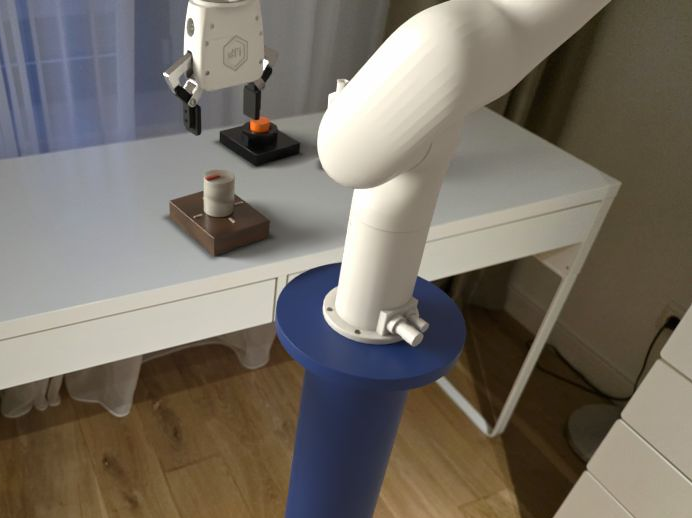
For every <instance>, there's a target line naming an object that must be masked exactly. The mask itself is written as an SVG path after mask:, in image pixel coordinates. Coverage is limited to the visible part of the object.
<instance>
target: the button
mask: <svg viewBox="0 0 692 518" xmlns="http://www.w3.org/2000/svg"><path fill="white" fill-rule="evenodd" d="M250 121H251V122H250ZM250 121H249V122H250V130H252V131H255V132H267V131H269V130H270V122H271V120H270V118H268V117H266V116H265V117H264V116H260V119H259V120H256V121H255V120H253V119H251V118H250Z"/></svg>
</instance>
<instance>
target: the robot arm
mask: <svg viewBox="0 0 692 518" xmlns="http://www.w3.org/2000/svg"><path fill="white" fill-rule="evenodd" d="M611 1H612V0H446V1H444V2H442V3H438V4H436V5H433V6H430V7H428V8H426V9H424V10H422V11H419V12H418V13H416V14H415V15H413V16H412V17H410V18H408V20H406V21H405V22H403V23H402V24H401V25H400V26H399V27H397V29H395V31H393V32H392V33H391V34H390V36H389V37H388V38H386V40H384V42H383V43H382V44H381V45H380V46H379V47H378V48H377V50H376V51H375V52H374V53H373V54H372V56H371V57H370V58H369V59H368V60H367V61H366V63H364V65H362V67H361V68H360V69H359V70H358V71H357V73H356V74H355V75H354V76H353V77H352V78H351V79H350V80H349V81H350V82H349V83H348V84H347V85H346V86H345V88H344V89H343V90H342V91H341V92H340V93H339V94H338V96H337V97H336V98H335V99H334V101H333V102H332V103H331V104H330V106H329V107H328V106H327V108H326V111H325V112H324V114H323V116H322V119H321V121H320V124H319V127H318V132H317V138H316V140H317V141H316V143H317V144H316V146H317V147H316V148H317V153H318V158H319V161H320V164H321V166H322V169H323V170H324V172H325V173H326V174H327V175H328V176H329V178H330V179H332V180H333V181H334V182H336V183H337V184H338V185H341V186H343V187H345V188H348V189H353V193H352V198H351V205H350V211H349V215H348V216H349V217H348V222H347V228H346V236H345V241H344V245H343V246H344V247H343V253H342V260H341V262H342V265H341V271H340V277H339V284H338V286H337V287H335V288H334V289H332V290H331V291H330V292H329V293H328V294H327V295H326V297H325V299H324V303H323V315H324V318H325V320H326V321H327V323H328V324H329V325H330V326H331V327H332V328H333V329H334V330H335V331H336V332H338V333H339V334H341V335H342V336H344V337H346V338H348V339H351V340H354V341H357V342H361V343H366V344H374V345H382V344H391V343H396V342H399V341H402V340H405V341H406V342H408V343H409V344H410V345H412V346H413V347H415V346H417V345H418V344H420V342H421V341H422V339H423V334H422V333H423V332H425V331H426V330H427V329H428V327H429V324H428V323H427V322H425V321H424V320H423V319H421V318H419V312H418V309H417V304H418V300H417V299H416V298H414V297H413V296H412V295H413V291H414V287H415V283H416V279H417V276H419V275H418V274H419V271H420V268H421V267H420V266H421V263H422V260H423V256H424V253H425V252H424V251H425V247H426V244H427V239H428V236H429V233H430V228H431V225H432V222H433V218H434V214H435V210H436V206H437V202H438V199H439V196H440V192H441V188H442V185H443V182H444V180H445V177H446V174H447V172H448V169H449V167H450V165H451V162H452V160H453V157H454V156H455V153H456V150H457V148H458V146H459V143H460V140H461V137H462V134H463V131H464V127H465V122H466V116H467V115H470V114H472V113H473V112H475V111H477V110H479V109H481V108H483V107H485V106H487V105H489V104H491V103H492V102H494V101H496V100H498V99H500V98H501V97H502V96H503V97H504V96H505V95H506V94H508V93H509V92H510V91H512V90H513V89H514V88H515V87H516V86H517V85H518V84H519V83H520V82H521V81H522V80H524V78H525V77H527V76H528V75H529V74H530V73H531V72H532V71H533V70H534V69H535V68H536V67H537V66H539V64H541V63H542V62H543V61H544V60H546V58H548V57H549V56H550V55H551V54H552V53H553V52H555V51H556V50H557V49H558V48H559V47H561V46H562V45H563V44H564V43H565V42H567V40H569V39H570V38H571V37H573V36H574V34H576V33H577V32H578V31H579V30H580V29H582V28H583V27H584V26H585V25H586V24H587V23H588V22H589V21H590V20H591V19H592V18H593V17H595V16H596V15H597V14H598V13H599V12H600V11H601V10H602V9H604V7H606V6H607V5H608V4H609V3H610V2H611ZM185 15H186V16H185V24H184V36H183V56H181V57H180V58H179V59H178V60H176V61H175V62H174V63H173V64H172V65H171V66H169V67H168V68H167V69H166V70H165V71H164V72H163V79H164V81H165V82H166V85H167V86H168V88H169V90H170V92H171V93H172V94H173V95H174V96H175V97H176V98H178V100H179V101H180V102H181V103H182V120H183V121H182V122H183V126H184V127H185V128H184V129H185V130H186V131H188V132H190V134H192V135H194V136H196V137H198V136H201V134H202V107H201V106H200V105H199V104H198V102H199V101H200V99H201V97H202V96H203V94H204V92H215V91H219V90H225V89H227V88H228V89H229V88H233V87H237V86H241V85H244V86H243V96H242V97H243V98H242V112H243V115H244V116H246V117H247V118H250V120H251V119H253V120H255V121H256V120H259V119H260V117H261V110H262V109H261V107H262V91H264V90H265V89H266V83H267V81H269V79H270V77H271V76H272V74H273V68H274V66H275V64H276V62H277V59H278V57H279V53H278V52H279V51H276V50H275V49H272V48H271V47H268V46H266V45H265V39H264V37H265V36H264V24H263V15H262V8H261V3H260V0H188V3H187V9H186V14H185ZM183 75H184V78H185V80H186V81H185V83H184V84H183V85H182V84H181V81H180V78H181V77H182V76H183ZM417 329H418V330H419V331H421V332H422V333H421V332H419V331H418V330H417Z"/></svg>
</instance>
